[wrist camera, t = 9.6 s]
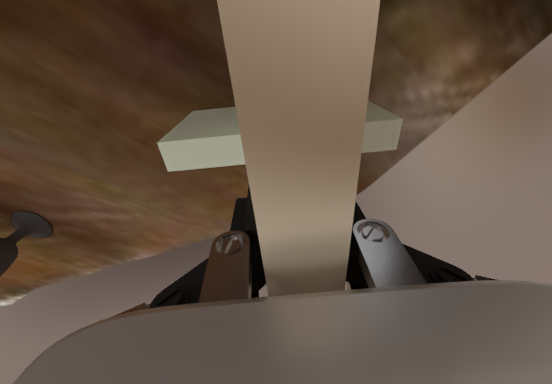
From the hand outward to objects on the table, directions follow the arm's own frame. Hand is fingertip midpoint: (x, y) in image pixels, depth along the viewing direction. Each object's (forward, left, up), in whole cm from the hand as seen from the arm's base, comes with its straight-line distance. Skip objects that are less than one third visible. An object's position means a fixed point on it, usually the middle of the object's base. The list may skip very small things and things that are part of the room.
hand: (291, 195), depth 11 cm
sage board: (0, 0, -17) cm, 17 cm away
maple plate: (0, 0, -11) cm, 11 cm away
